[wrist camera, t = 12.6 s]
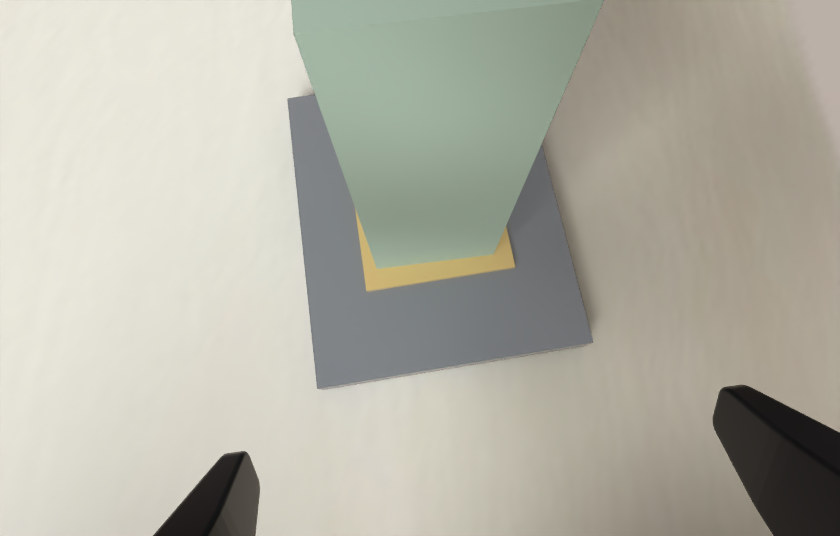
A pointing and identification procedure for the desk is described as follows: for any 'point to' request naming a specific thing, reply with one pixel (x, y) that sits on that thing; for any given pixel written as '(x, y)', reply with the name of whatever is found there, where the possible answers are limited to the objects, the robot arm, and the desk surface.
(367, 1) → the sage block
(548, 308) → the pad
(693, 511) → the desk surface
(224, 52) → the desk surface
